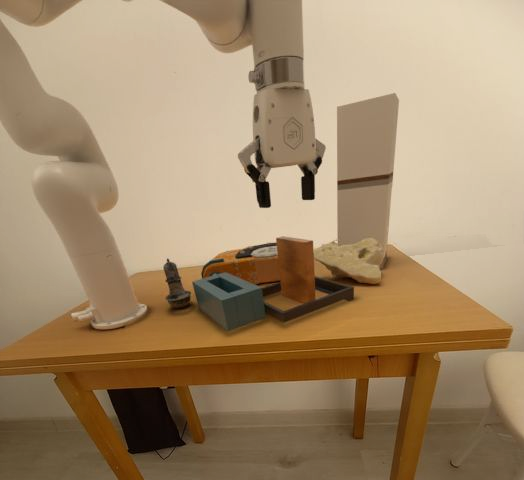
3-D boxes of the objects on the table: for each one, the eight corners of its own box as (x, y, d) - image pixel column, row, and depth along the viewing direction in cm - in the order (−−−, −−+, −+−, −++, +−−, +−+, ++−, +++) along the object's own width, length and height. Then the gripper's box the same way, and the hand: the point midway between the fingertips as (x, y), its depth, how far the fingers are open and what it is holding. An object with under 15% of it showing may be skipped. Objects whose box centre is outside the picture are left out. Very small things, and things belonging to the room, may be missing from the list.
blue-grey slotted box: (228, 334, 55) (221, 300, 51) (199, 310, 68) (191, 281, 64) (266, 320, 58) (261, 287, 54) (231, 300, 71) (225, 272, 67)
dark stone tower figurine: (192, 302, 73) (179, 253, 67) (196, 310, 68) (182, 257, 62) (168, 308, 71) (152, 258, 65) (171, 317, 66) (154, 263, 60)
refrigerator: (386, 257, 84) (399, 100, 66) (382, 269, 76) (395, 92, 58) (345, 258, 89) (347, 111, 71) (337, 269, 81) (336, 106, 63)
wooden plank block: (316, 304, 60) (313, 240, 54) (309, 306, 60) (305, 242, 53) (288, 292, 68) (282, 236, 62) (281, 295, 67) (275, 237, 61)
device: (210, 245, 91) (307, 231, 89) (216, 271, 96) (309, 259, 93) (196, 263, 72) (319, 246, 70) (204, 296, 76) (320, 280, 74)
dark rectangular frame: (283, 326, 55) (282, 313, 53) (245, 304, 67) (243, 293, 66) (353, 299, 61) (354, 287, 60) (307, 283, 74) (306, 273, 72)
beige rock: (395, 284, 71) (366, 237, 76) (401, 268, 64) (368, 218, 69) (336, 312, 73) (311, 264, 78) (335, 299, 66) (308, 248, 71)
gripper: (241, 72, 40) (256, 211, 48) (338, 75, 46) (337, 197, 55) (219, 88, 45) (236, 210, 54) (309, 89, 52) (311, 197, 61)
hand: (287, 203), depth 54 cm, fingers open, 9 cm apart
